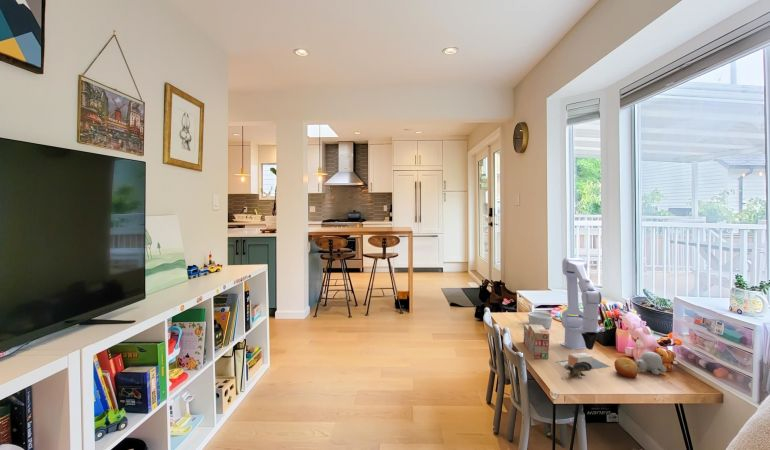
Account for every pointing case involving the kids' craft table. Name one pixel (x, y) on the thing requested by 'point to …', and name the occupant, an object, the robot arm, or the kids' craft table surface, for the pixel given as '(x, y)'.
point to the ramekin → (540, 319)
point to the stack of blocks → (536, 340)
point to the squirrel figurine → (578, 369)
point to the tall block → (579, 358)
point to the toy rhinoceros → (650, 363)
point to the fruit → (626, 367)
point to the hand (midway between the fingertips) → (589, 348)
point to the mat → (595, 365)
